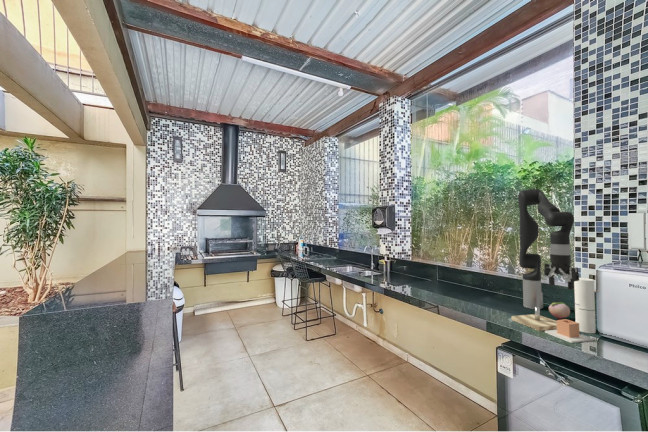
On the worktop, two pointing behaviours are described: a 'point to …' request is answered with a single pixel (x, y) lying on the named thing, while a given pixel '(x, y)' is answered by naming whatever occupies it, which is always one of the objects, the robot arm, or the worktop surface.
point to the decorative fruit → (559, 310)
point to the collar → (568, 328)
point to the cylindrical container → (585, 305)
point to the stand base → (536, 322)
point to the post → (537, 313)
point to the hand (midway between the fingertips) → (561, 287)
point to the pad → (571, 340)
